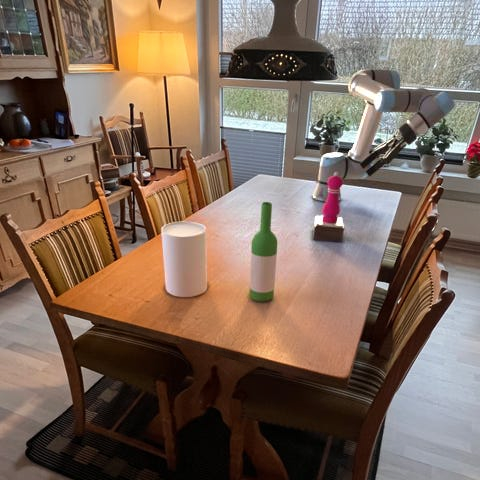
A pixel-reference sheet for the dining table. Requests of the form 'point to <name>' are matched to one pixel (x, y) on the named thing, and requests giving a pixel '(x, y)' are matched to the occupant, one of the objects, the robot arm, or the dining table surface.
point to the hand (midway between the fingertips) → (364, 170)
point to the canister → (185, 258)
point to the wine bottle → (263, 258)
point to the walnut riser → (328, 230)
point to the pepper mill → (332, 199)
